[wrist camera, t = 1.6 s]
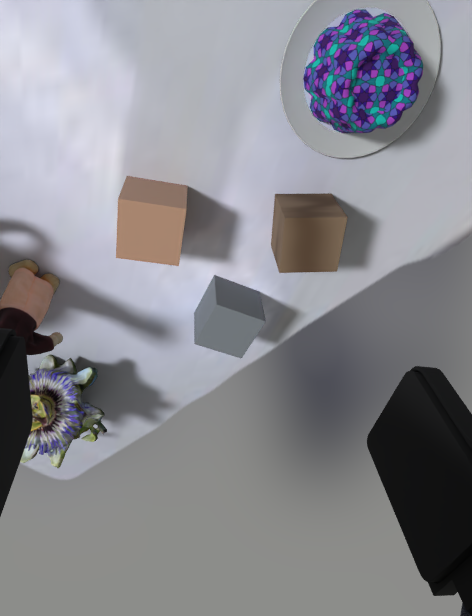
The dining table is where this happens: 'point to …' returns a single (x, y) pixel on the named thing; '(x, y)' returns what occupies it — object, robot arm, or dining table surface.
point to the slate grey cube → (228, 317)
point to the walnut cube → (307, 232)
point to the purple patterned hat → (359, 73)
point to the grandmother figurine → (29, 306)
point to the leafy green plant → (60, 409)
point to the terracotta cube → (151, 221)
